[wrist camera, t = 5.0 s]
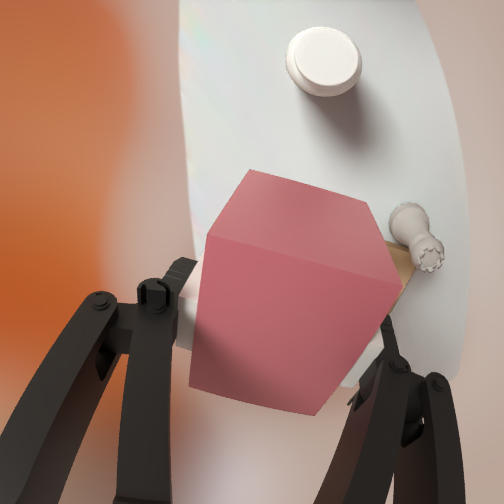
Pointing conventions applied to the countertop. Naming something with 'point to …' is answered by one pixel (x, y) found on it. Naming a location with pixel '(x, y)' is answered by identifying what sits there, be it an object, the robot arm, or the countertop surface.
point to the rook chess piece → (416, 236)
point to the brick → (288, 294)
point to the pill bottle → (323, 61)
